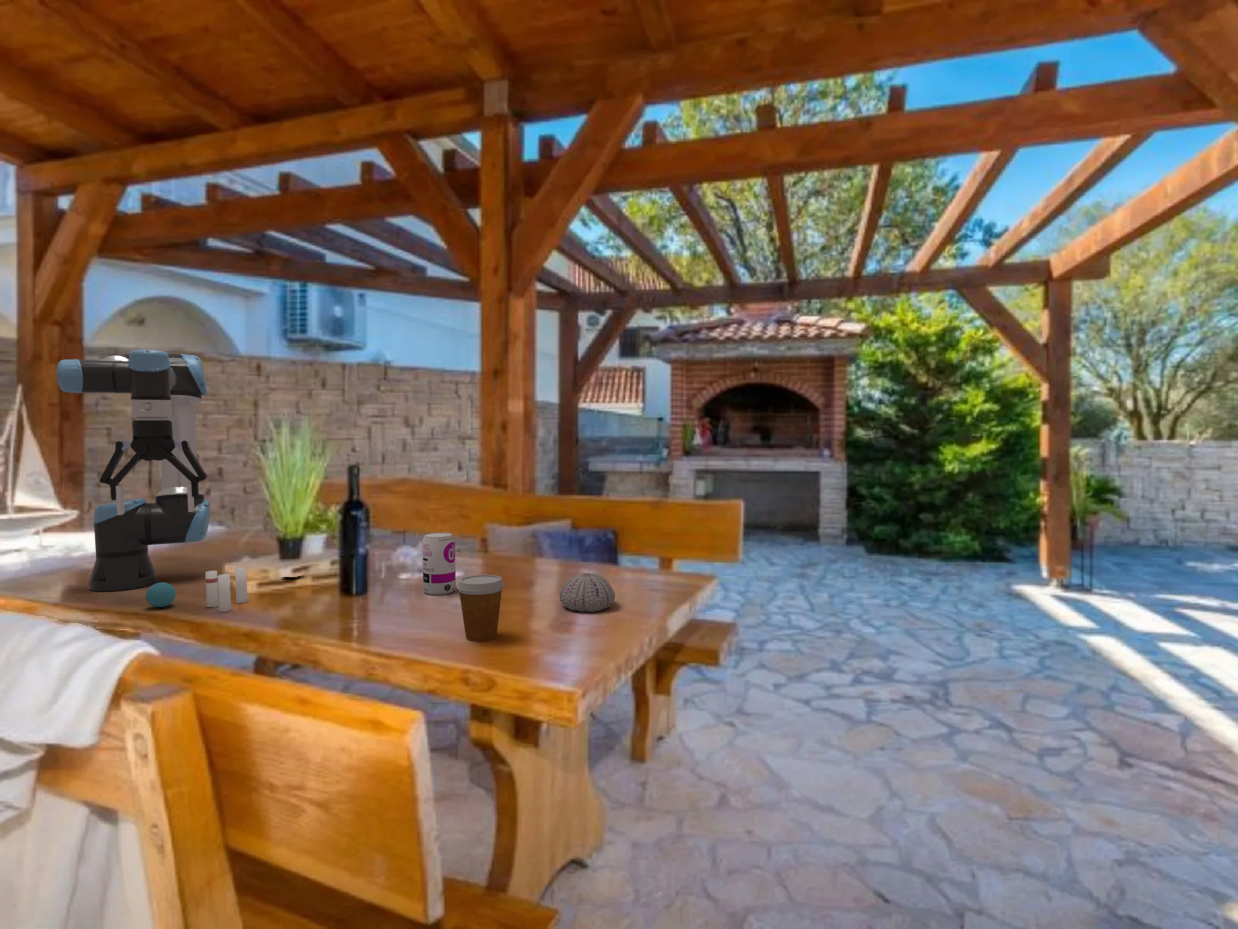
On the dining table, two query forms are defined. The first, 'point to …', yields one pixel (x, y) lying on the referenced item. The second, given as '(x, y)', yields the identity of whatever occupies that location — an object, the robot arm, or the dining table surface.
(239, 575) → the back left pin
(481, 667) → the dining table surface
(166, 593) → the ball
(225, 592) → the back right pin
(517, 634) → the dining table surface
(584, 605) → the sea urchin shell
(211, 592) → the front pin
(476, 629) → the disposable coffee cup
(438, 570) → the supplement can
